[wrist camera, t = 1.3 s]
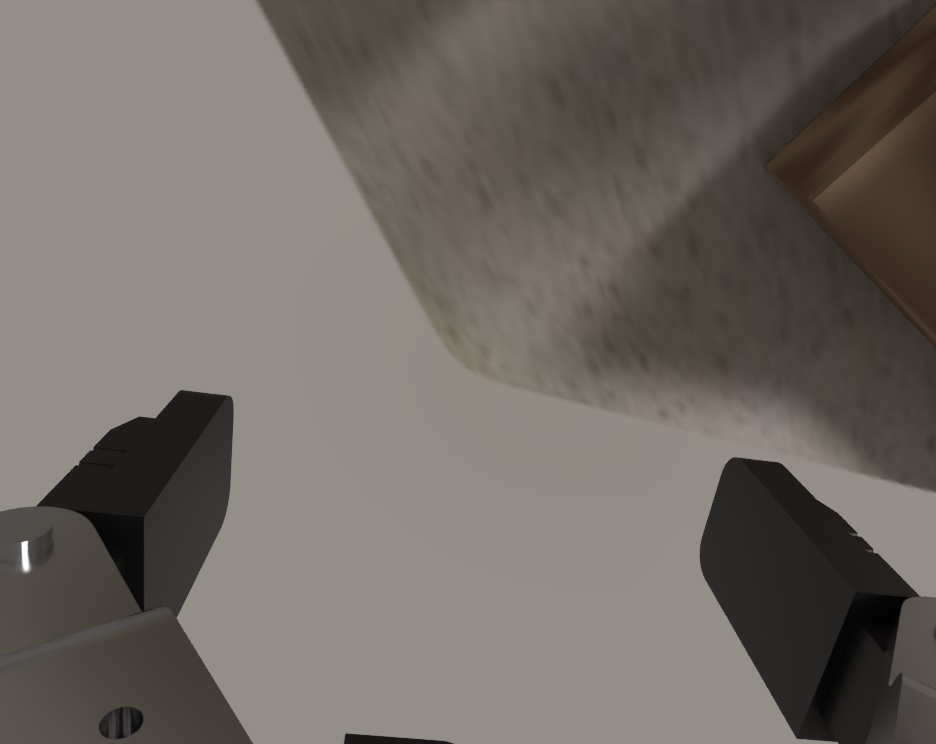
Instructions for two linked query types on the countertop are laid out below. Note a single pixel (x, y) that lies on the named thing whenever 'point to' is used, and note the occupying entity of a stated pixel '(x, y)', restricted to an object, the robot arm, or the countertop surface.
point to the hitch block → (878, 173)
